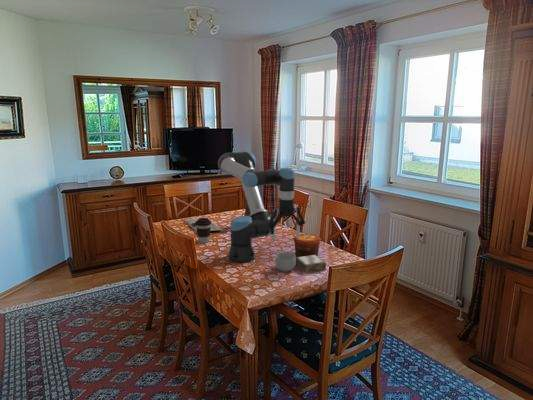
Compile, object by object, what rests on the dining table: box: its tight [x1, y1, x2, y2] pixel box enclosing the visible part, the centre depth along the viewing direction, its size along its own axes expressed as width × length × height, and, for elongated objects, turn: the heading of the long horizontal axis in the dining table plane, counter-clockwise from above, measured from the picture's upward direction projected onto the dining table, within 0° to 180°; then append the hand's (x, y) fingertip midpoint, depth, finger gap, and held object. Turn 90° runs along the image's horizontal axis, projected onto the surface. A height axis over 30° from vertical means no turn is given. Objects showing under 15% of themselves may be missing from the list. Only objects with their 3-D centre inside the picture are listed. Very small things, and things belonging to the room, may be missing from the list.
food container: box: [292, 233, 322, 257], centre depth 213 cm, size 16×16×11 cm
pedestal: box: [295, 255, 327, 274], centre depth 196 cm, size 12×12×4 cm
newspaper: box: [184, 216, 225, 233], centre depth 269 cm, size 37×19×3 cm, turn 27°
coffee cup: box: [195, 217, 212, 244], centre depth 235 cm, size 10×10×15 cm
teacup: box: [274, 250, 297, 273], centre depth 194 cm, size 14×11×8 cm
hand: (286, 238), depth 192 cm, fingers open, 13 cm apart
